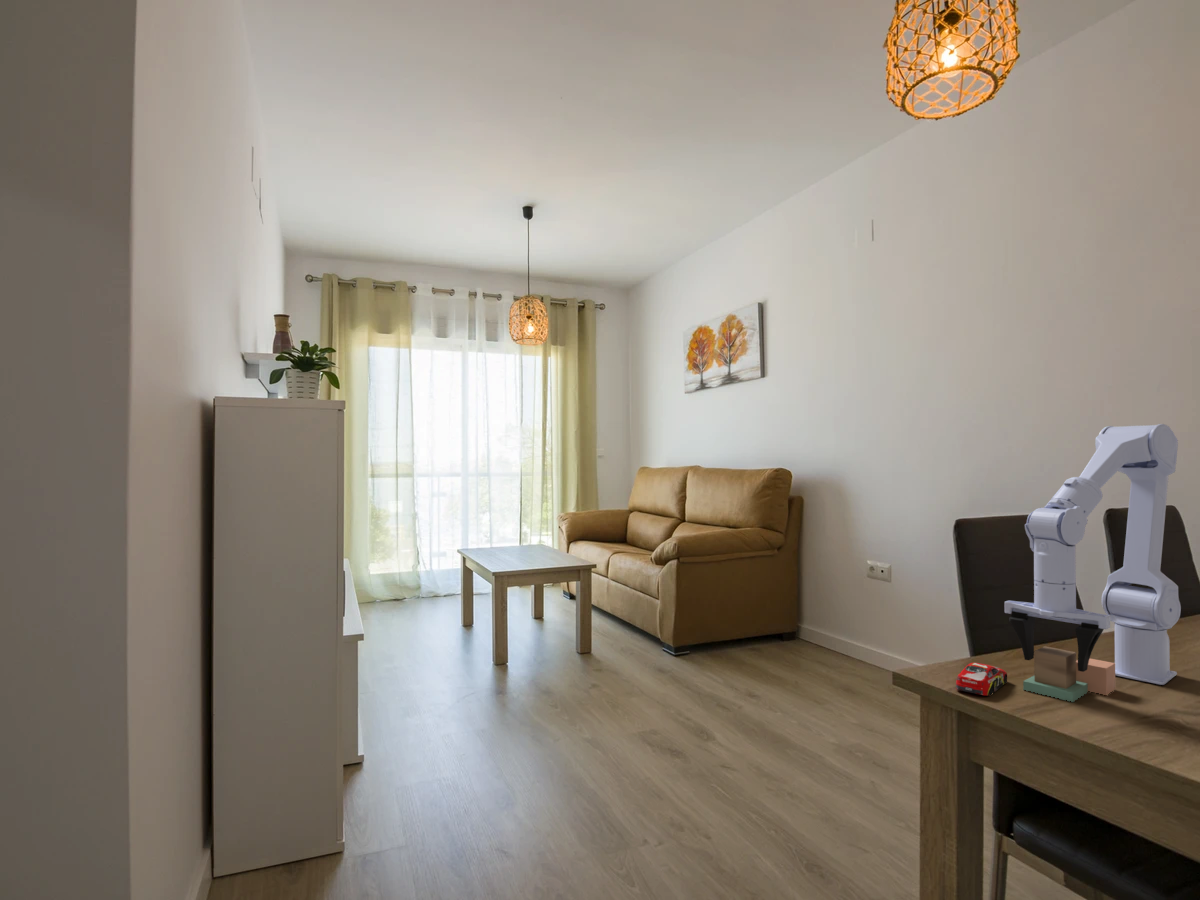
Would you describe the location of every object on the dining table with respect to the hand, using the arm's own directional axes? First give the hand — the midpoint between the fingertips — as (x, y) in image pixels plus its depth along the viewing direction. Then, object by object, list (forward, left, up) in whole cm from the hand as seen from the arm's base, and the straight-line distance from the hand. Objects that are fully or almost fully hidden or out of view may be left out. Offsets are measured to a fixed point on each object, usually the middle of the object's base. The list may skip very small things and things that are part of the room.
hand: (1055, 664), depth 111 cm
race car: (+7, -9, -5) cm, 12 cm away
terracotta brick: (-6, +4, -4) cm, 9 cm away
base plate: (0, 0, -4) cm, 4 cm away
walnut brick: (0, 0, -3) cm, 3 cm away
